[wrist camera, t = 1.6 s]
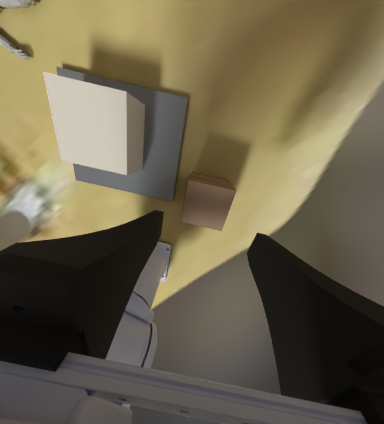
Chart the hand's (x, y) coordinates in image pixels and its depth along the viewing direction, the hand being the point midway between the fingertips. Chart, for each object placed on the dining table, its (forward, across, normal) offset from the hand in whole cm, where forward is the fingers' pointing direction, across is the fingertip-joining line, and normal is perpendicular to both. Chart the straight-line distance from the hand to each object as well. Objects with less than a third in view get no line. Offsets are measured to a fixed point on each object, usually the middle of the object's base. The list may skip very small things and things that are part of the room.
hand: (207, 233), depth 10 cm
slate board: (+10, +12, -4) cm, 16 cm away
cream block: (+9, +12, -5) cm, 16 cm away
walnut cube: (+10, 0, 0) cm, 10 cm away
